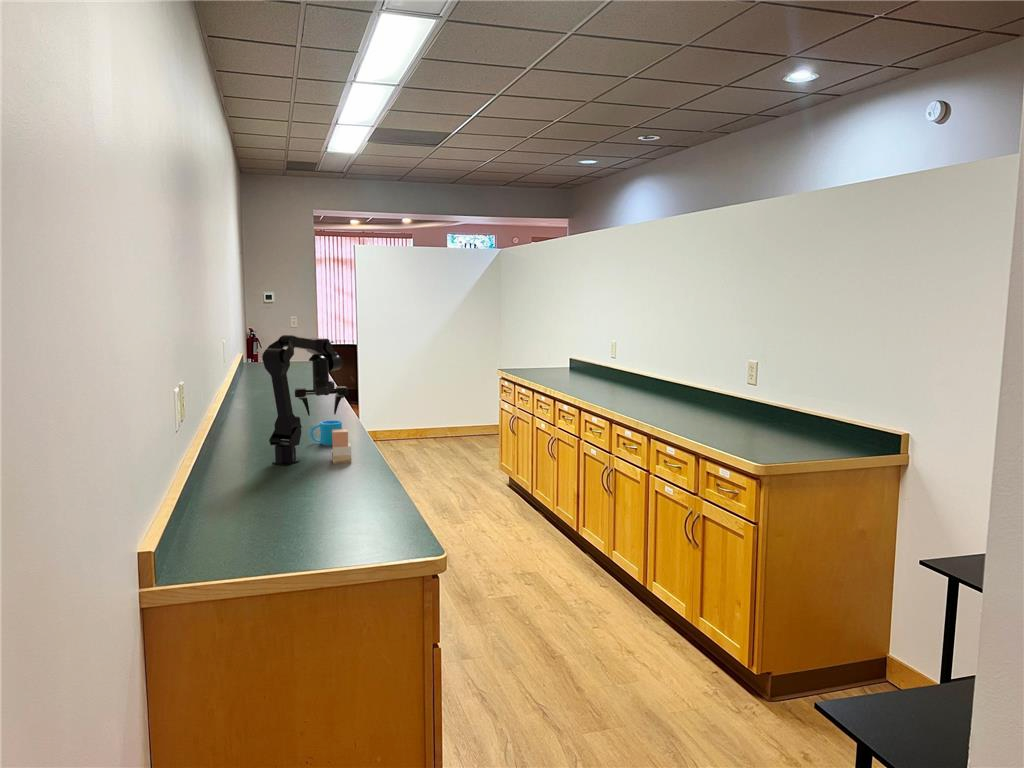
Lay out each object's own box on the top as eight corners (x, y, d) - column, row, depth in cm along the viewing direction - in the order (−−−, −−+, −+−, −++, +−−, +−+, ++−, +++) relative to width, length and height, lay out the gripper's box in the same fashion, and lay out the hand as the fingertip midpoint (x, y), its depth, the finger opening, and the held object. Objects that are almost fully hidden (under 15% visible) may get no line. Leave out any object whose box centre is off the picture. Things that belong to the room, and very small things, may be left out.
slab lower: (351, 463, 255) (351, 454, 255) (333, 464, 254) (333, 455, 253) (349, 459, 261) (349, 451, 261) (332, 460, 259) (331, 452, 259)
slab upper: (351, 454, 255) (351, 446, 255) (333, 455, 253) (332, 447, 253) (350, 451, 261) (350, 442, 260) (332, 452, 259) (332, 443, 259)
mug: (342, 440, 293) (341, 420, 292) (342, 444, 285) (341, 423, 284) (310, 441, 290) (309, 421, 289) (309, 446, 282) (309, 425, 281)
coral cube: (348, 446, 255) (347, 431, 254) (333, 446, 253) (332, 432, 253) (347, 443, 260) (346, 429, 259) (332, 443, 258) (332, 429, 258)
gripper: (294, 376, 261) (296, 420, 263) (348, 374, 267) (349, 417, 269) (293, 372, 272) (295, 414, 274) (346, 371, 277) (347, 412, 279)
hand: (321, 415), depth 274 cm, fingers open, 9 cm apart
